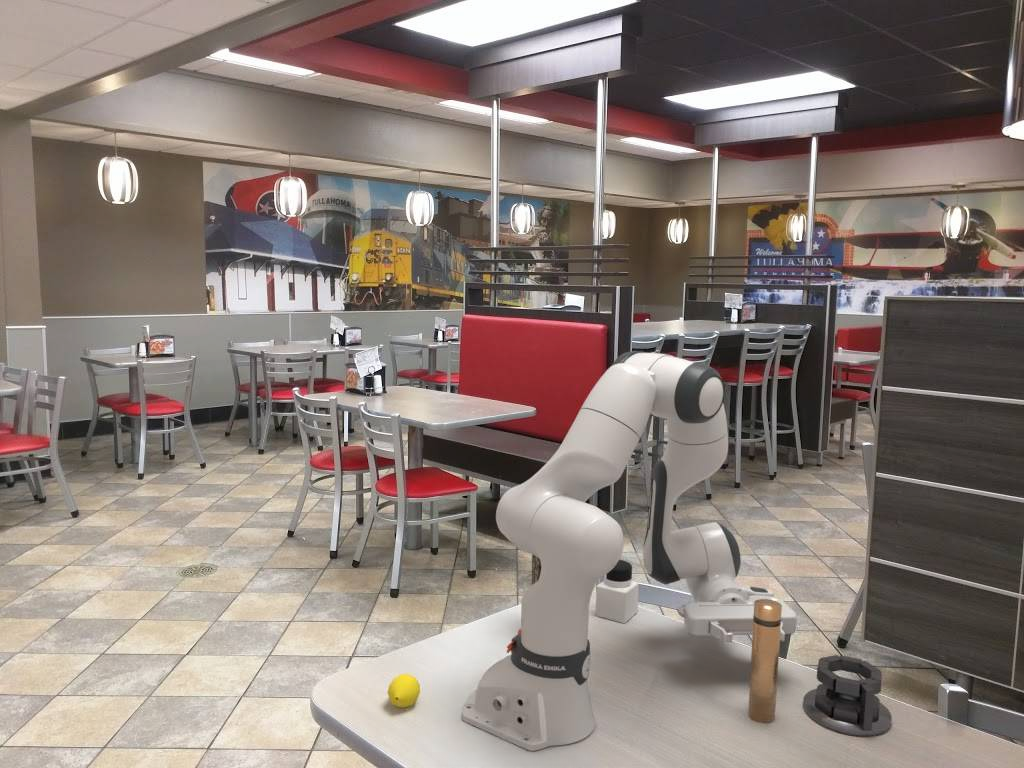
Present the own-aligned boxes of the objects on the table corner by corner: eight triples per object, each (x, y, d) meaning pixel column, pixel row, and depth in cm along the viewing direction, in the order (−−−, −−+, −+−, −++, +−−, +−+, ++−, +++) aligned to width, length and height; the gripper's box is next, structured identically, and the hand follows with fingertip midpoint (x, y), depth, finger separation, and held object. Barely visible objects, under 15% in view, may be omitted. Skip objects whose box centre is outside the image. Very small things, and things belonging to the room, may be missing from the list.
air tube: (745, 718, 133) (752, 606, 131) (750, 706, 137) (756, 597, 135) (773, 725, 131) (780, 611, 129) (776, 712, 135) (783, 602, 133)
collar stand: (798, 723, 132) (801, 678, 131) (807, 685, 145) (810, 644, 144) (890, 745, 126) (894, 698, 125) (891, 704, 139) (894, 661, 138)
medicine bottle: (638, 612, 176) (639, 561, 174) (624, 624, 170) (626, 570, 168) (609, 605, 179) (610, 554, 178) (595, 616, 173) (596, 564, 172)
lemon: (396, 696, 140) (397, 666, 140) (424, 700, 139) (426, 670, 139) (380, 712, 133) (382, 680, 133) (410, 716, 132) (412, 684, 132)
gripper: (675, 590, 150) (697, 621, 136) (779, 589, 151) (811, 619, 138) (673, 622, 150) (695, 656, 137) (777, 620, 152) (809, 654, 138)
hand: (754, 638), depth 137 cm, fingers open, 8 cm apart
